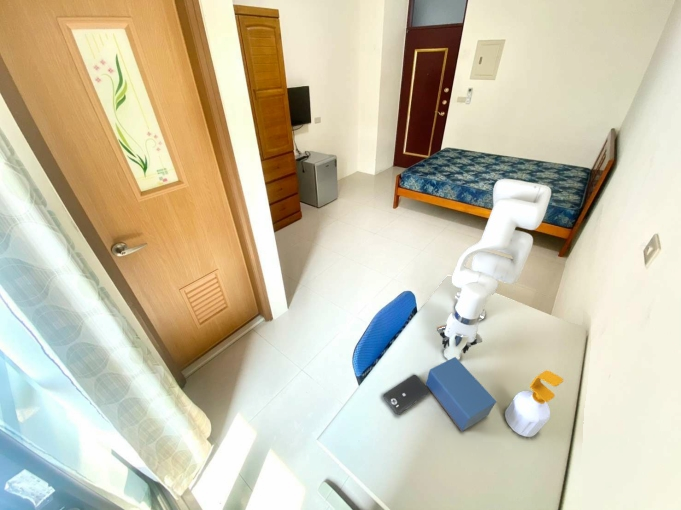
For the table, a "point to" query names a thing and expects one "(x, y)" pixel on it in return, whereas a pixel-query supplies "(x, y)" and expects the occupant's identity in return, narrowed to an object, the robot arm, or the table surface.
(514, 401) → the soap bottle
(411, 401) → the smartphone
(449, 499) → the table surface
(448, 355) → the beer glass
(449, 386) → the blue rectangular box
